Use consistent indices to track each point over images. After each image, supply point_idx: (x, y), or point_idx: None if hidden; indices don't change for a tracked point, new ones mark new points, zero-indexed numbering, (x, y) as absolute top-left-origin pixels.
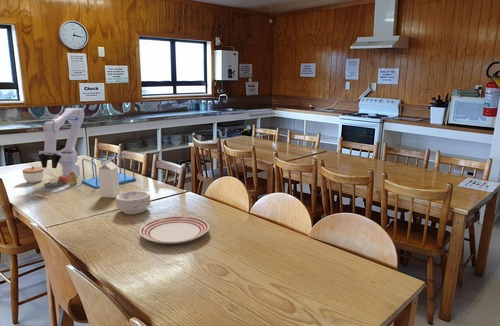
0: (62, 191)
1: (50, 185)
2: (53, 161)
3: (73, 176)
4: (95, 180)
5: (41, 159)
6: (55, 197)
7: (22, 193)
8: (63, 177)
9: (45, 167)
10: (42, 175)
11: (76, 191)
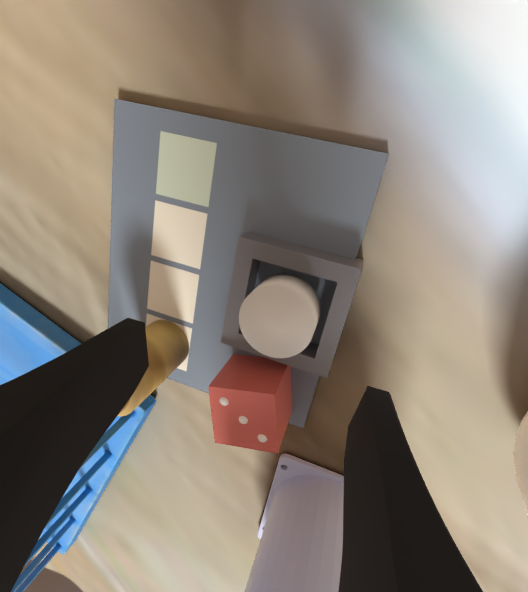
0: (118, 161)
1: (276, 244)
2: (4, 385)
3: None
4: None
5: (409, 563)
6: (83, 16)
7: (489, 8)
8: (223, 387)
9: (352, 420)
10: (516, 470)
11: (62, 214)
